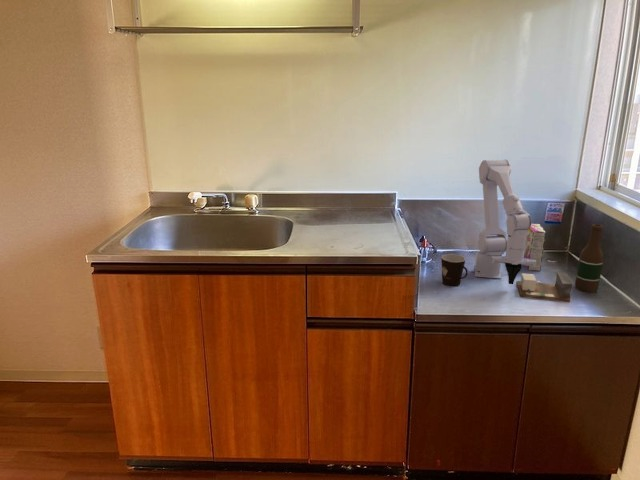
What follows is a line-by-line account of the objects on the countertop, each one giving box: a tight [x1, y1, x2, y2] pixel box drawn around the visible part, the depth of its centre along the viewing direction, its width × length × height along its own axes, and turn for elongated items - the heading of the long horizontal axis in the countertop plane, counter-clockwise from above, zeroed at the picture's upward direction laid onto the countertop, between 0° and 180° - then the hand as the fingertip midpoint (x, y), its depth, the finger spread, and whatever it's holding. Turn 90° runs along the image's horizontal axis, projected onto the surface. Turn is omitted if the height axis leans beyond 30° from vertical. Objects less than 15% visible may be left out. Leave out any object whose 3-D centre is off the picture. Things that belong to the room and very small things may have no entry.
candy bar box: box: [523, 223, 546, 272], centre depth 196 cm, size 11×5×16 cm, turn 168°
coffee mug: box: [440, 253, 468, 287], centre depth 179 cm, size 12×9×10 cm
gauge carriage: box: [520, 272, 542, 294], centre depth 173 cm, size 6×9×4 cm
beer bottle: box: [574, 223, 604, 294], centre depth 174 cm, size 8×8×24 cm
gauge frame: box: [515, 272, 573, 303], centre depth 173 cm, size 16×12×6 cm
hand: (510, 283), depth 175 cm, fingers closed
